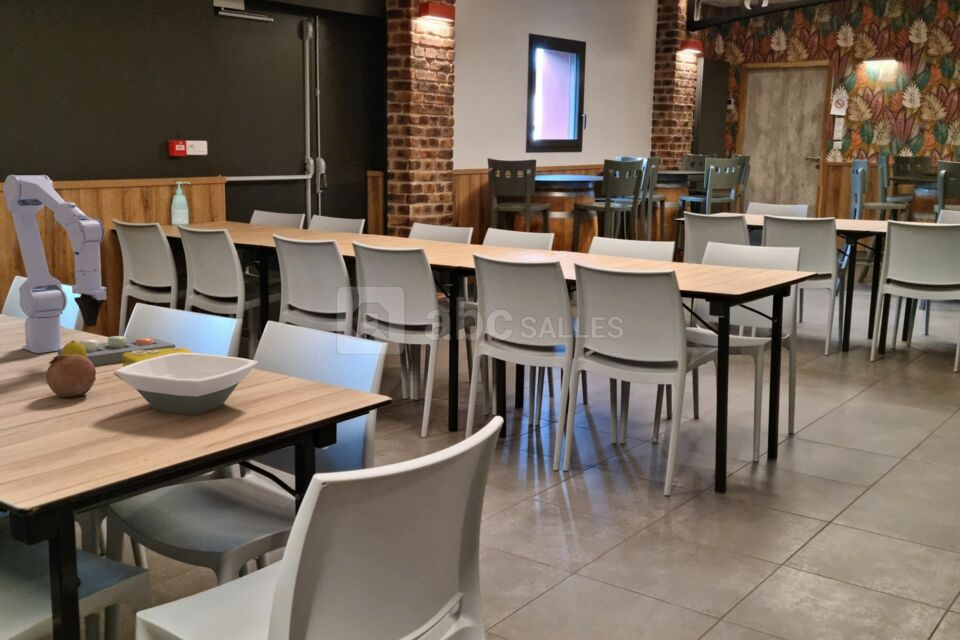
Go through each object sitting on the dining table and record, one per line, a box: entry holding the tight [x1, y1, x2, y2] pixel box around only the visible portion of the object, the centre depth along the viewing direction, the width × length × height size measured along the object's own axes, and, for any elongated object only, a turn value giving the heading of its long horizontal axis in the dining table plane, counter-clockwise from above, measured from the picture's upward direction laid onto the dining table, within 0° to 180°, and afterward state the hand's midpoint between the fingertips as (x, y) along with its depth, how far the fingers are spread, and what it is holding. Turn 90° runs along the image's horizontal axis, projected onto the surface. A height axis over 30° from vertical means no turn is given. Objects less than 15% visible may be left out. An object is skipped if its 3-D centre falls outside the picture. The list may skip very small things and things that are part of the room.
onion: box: [45, 354, 97, 399], centre depth 197 cm, size 10×9×10 cm
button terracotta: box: [134, 337, 153, 346], centre depth 241 cm, size 4×4×3 cm
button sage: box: [107, 335, 127, 350], centre depth 236 cm, size 4×4×3 cm
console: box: [57, 336, 176, 367], centre depth 236 cm, size 13×24×2 cm, turn 135°
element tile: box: [122, 346, 195, 367], centre depth 222 cm, size 15×15×5 cm
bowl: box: [114, 352, 259, 415], centre depth 191 cm, size 22×23×8 cm
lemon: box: [61, 340, 87, 357], centre depth 215 cm, size 6×6×8 cm
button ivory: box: [79, 338, 99, 353], centre depth 231 cm, size 4×4×3 cm
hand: (90, 326), depth 230 cm, fingers closed
